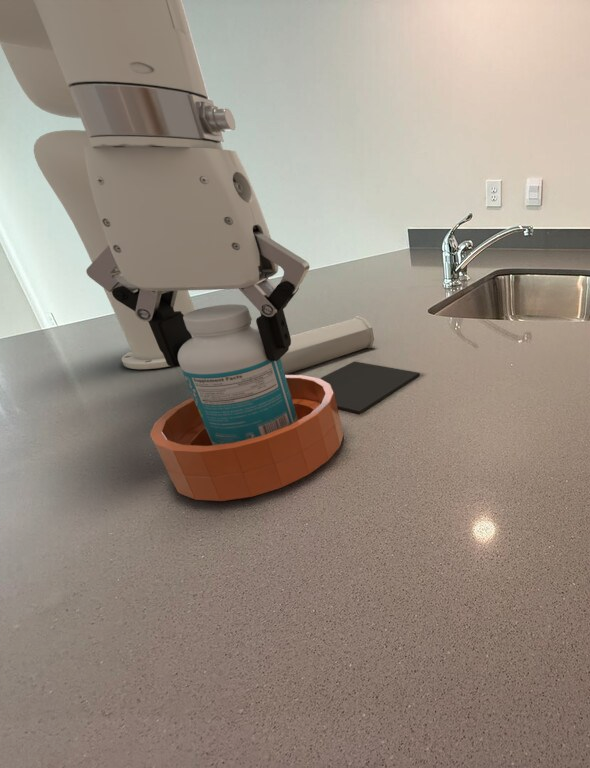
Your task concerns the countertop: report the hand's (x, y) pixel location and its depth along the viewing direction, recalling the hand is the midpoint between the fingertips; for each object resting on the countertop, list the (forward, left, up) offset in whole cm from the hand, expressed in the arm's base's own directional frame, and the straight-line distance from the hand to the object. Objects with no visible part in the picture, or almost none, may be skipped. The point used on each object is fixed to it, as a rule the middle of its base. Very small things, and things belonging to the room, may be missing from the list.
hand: (231, 356), depth 36 cm
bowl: (0, 0, -10) cm, 10 cm away
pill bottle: (0, 0, -10) cm, 10 cm away
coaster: (-2, +16, -10) cm, 19 cm away
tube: (-15, +17, -11) cm, 25 cm away
